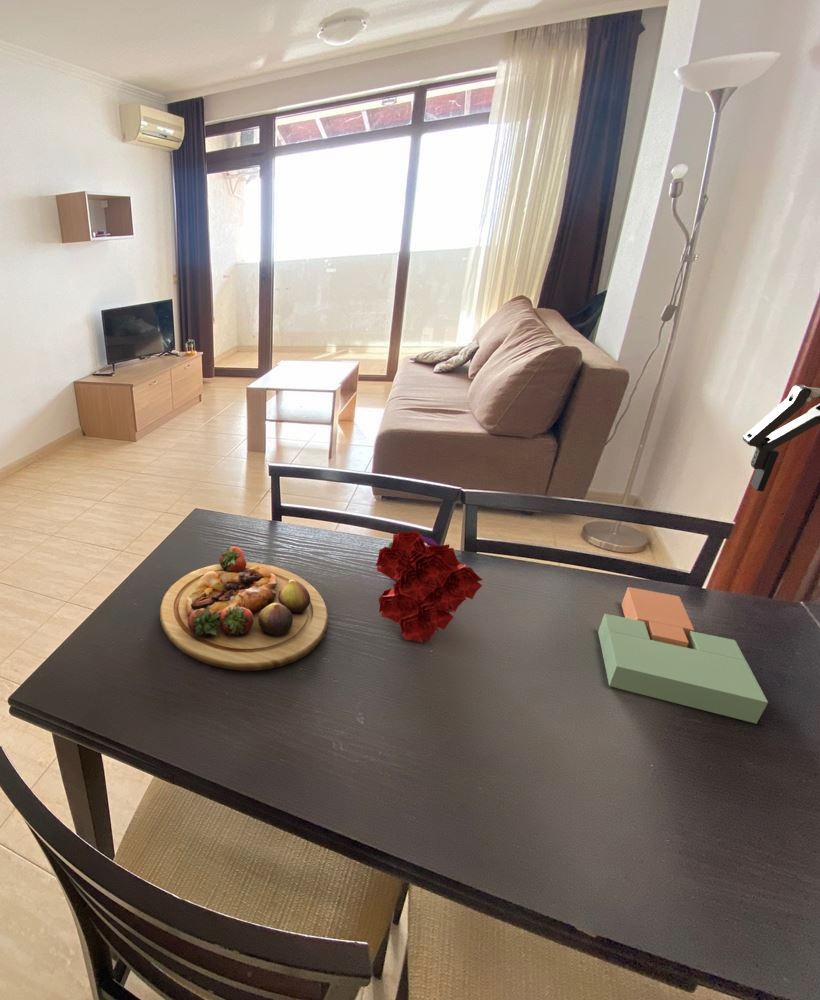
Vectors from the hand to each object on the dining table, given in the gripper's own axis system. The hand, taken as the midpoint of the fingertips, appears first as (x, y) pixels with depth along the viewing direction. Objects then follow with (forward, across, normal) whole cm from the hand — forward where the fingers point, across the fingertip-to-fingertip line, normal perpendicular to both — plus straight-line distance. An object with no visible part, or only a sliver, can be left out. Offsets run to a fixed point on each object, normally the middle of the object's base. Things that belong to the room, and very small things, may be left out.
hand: (818, 493), depth 83 cm
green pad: (+23, -16, -22) cm, 36 cm away
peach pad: (+23, -16, -11) cm, 31 cm away
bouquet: (+23, -54, -15) cm, 61 cm away
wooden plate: (+22, -82, -34) cm, 91 cm away
